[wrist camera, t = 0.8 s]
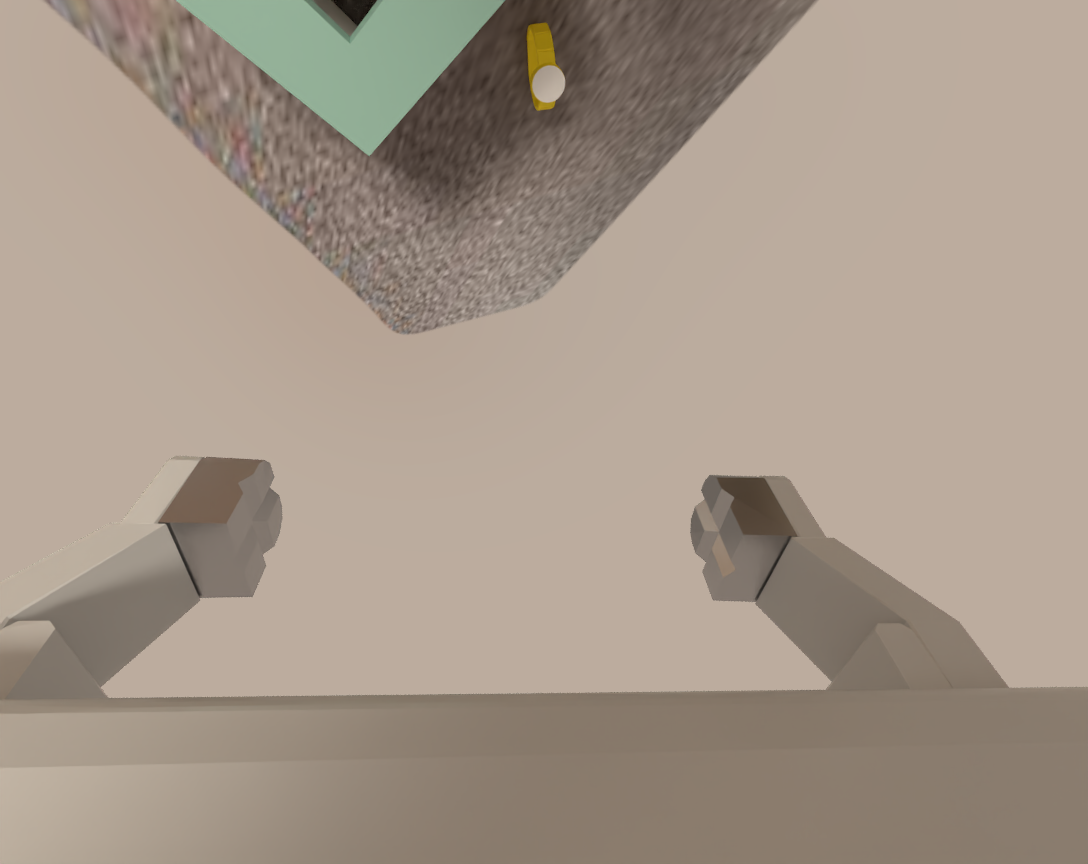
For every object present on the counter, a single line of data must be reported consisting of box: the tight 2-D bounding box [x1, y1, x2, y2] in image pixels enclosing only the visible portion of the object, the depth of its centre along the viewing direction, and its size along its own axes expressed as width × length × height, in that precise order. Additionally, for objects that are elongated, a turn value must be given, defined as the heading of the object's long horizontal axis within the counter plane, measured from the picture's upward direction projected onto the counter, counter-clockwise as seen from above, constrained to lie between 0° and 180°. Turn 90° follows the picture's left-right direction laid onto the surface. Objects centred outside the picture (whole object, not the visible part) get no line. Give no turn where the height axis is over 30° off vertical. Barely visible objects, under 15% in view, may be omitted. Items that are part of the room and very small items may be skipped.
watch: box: [526, 23, 565, 111], centre depth 46 cm, size 6×3×6 cm, turn 1°
